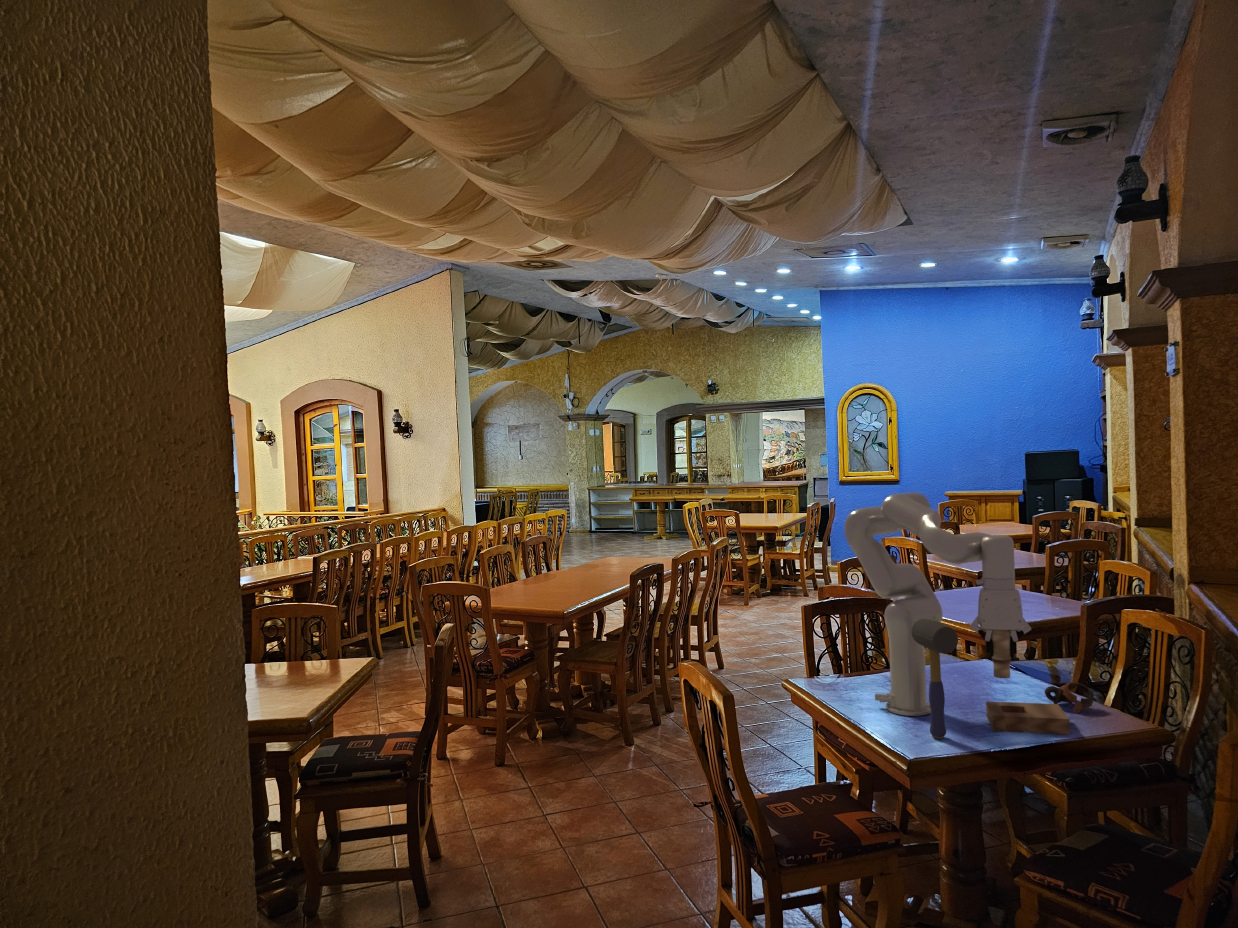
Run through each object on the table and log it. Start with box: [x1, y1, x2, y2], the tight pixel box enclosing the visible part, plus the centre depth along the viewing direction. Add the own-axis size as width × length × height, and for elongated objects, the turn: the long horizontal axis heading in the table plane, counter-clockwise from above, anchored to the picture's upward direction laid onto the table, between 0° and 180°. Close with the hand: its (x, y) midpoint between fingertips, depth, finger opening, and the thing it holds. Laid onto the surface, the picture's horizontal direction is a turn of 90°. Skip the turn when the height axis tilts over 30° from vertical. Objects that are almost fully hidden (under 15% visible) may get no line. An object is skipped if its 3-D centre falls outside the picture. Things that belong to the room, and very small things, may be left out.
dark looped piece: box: [1044, 681, 1094, 714], centre depth 234 cm, size 12×10×8 cm
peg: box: [990, 630, 1012, 679], centre depth 212 cm, size 5×5×14 cm
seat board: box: [985, 700, 1071, 735], centre depth 222 cm, size 18×13×4 cm
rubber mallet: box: [911, 619, 959, 740], centre depth 215 cm, size 12×8×30 cm, turn 8°
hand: (1001, 655), depth 212 cm, fingers closed on peg, 4 cm apart
